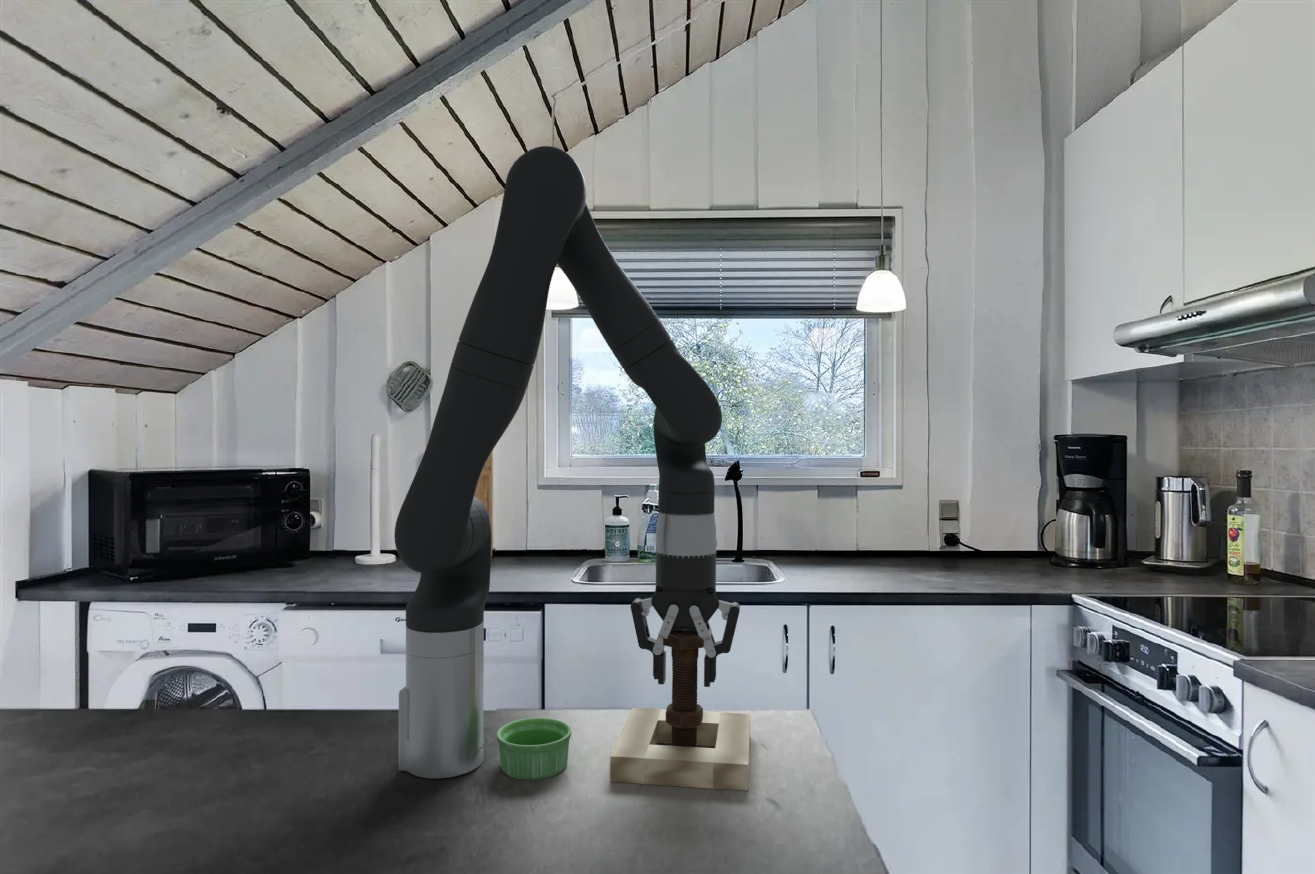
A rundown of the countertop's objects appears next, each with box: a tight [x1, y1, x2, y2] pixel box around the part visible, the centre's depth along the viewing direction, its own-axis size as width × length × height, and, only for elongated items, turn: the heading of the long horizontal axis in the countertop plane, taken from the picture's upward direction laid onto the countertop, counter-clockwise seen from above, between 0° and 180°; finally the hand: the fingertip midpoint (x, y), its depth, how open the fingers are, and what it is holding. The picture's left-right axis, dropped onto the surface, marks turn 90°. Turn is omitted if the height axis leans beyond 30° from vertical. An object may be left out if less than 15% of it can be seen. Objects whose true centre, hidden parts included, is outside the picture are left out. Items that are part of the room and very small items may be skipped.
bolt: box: [663, 629, 704, 747], centre depth 99 cm, size 6×5×15 cm
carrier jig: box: [609, 707, 751, 792], centre depth 99 cm, size 16×16×3 cm
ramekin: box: [496, 717, 572, 781], centre depth 97 cm, size 9×9×4 cm
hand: (684, 683), depth 99 cm, fingers closed on bolt, 5 cm apart
